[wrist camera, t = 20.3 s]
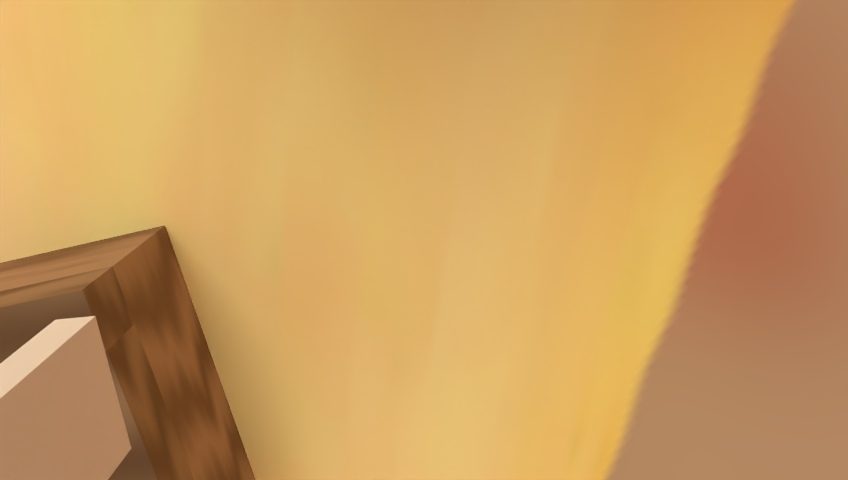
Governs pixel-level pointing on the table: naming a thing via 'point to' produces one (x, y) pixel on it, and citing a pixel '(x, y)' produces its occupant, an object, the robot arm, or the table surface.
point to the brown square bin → (135, 349)
